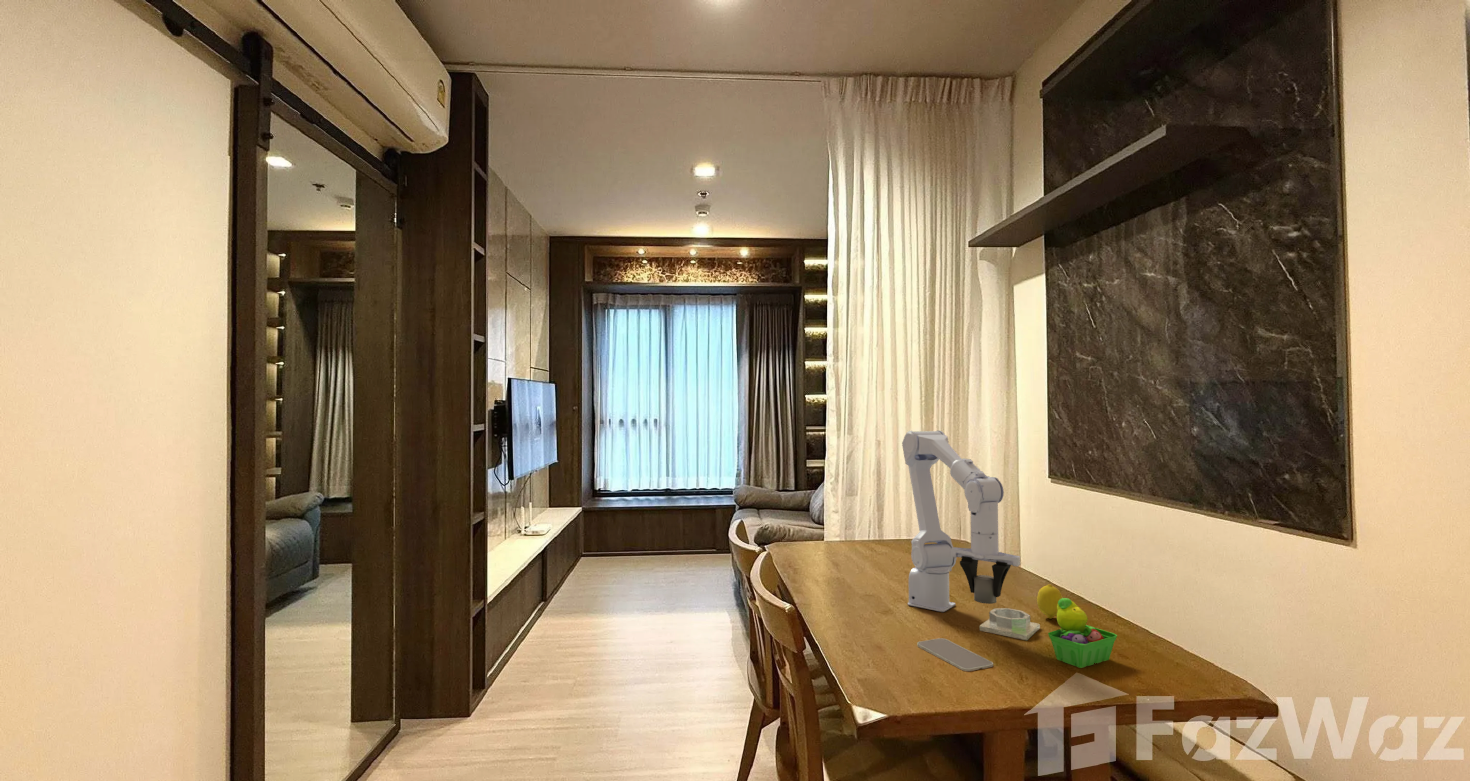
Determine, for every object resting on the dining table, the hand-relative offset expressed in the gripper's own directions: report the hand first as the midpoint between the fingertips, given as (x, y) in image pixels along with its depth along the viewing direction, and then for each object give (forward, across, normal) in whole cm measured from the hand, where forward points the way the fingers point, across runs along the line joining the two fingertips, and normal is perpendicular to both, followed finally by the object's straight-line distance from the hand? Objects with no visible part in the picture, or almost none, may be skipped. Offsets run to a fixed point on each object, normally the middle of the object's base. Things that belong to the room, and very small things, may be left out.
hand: (985, 593), depth 143 cm
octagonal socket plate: (+8, +3, +5) cm, 10 cm away
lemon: (+9, +8, +19) cm, 23 cm away
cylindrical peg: (+1, 0, 0) cm, 1 cm away
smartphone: (+9, 0, -18) cm, 20 cm away
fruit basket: (+9, +20, -4) cm, 22 cm away
